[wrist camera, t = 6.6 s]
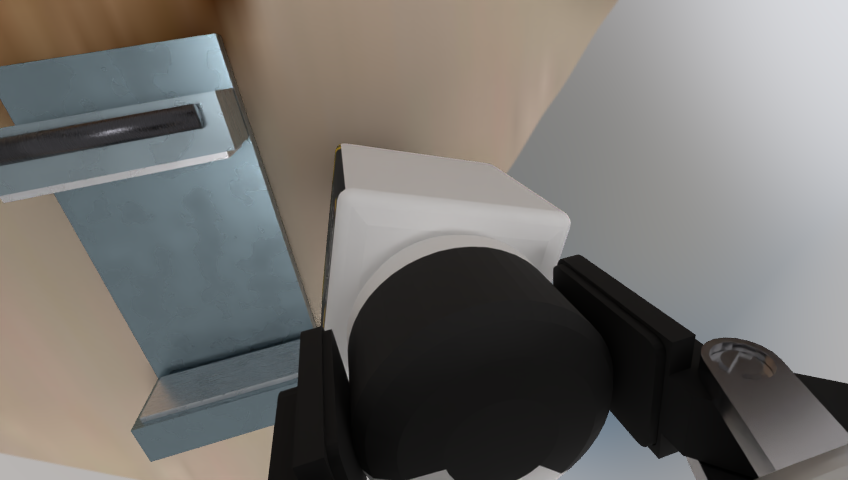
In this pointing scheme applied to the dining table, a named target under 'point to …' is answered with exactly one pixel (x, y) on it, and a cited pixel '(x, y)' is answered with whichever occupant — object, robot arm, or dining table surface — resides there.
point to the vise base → (182, 247)
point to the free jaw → (118, 144)
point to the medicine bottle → (456, 322)
